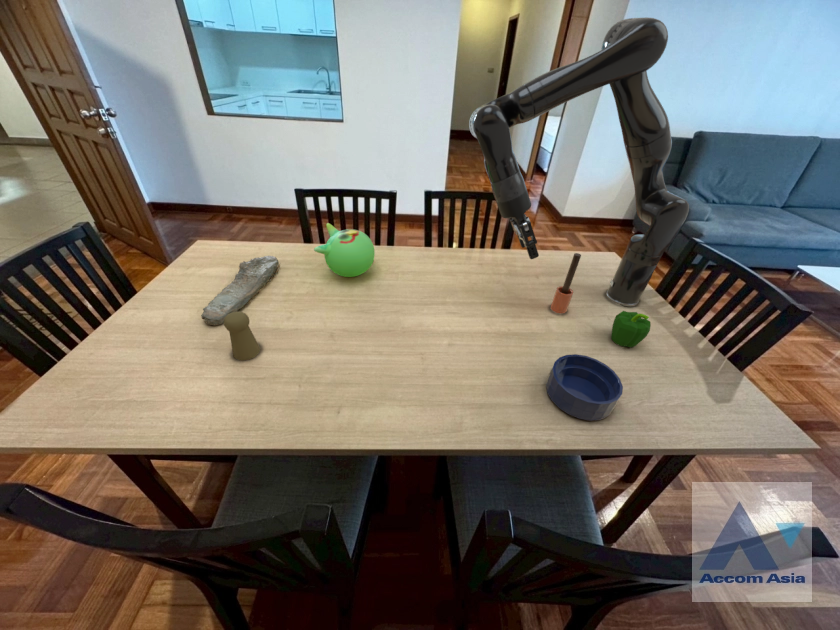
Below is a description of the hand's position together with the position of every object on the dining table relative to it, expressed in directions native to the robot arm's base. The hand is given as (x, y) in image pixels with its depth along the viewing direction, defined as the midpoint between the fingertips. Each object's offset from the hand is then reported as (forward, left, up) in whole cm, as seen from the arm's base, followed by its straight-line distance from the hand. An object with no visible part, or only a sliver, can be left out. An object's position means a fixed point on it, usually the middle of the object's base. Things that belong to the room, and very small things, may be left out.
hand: (529, 251), depth 92 cm
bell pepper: (-19, +22, -20) cm, 35 cm away
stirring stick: (-13, +4, -19) cm, 24 cm away
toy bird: (+38, -40, -20) cm, 58 cm away
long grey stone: (+70, -40, -20) cm, 83 cm away
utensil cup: (-13, +4, -20) cm, 24 cm away
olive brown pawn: (+72, -12, -20) cm, 76 cm away
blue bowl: (+7, +31, -20) cm, 38 cm away
